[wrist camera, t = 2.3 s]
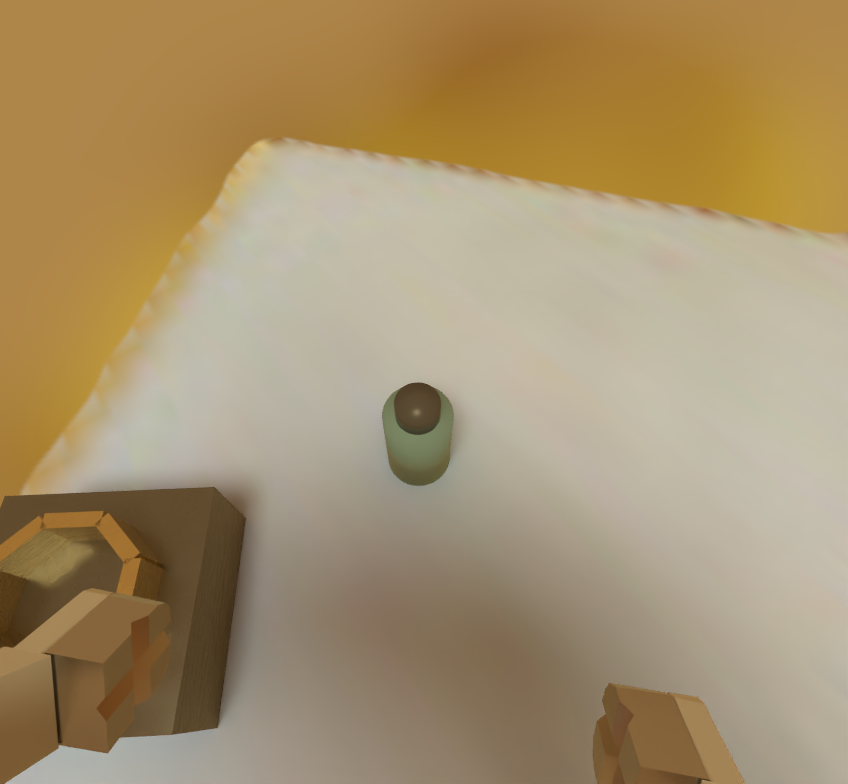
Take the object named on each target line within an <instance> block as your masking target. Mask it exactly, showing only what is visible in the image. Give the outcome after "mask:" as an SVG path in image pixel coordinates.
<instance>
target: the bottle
mask: <svg viewBox="0 0 848 784" xmlns="http://www.w3.org/2000/svg"><path fill="white" fill-rule="evenodd" d="M382 419H383V426H384V433H385V439H386V446H387V452H388V458H389V464H390V467H391V469H392V471H393V473H394V474H395V475H396V476H397V477H398V478H399V479H400V480H401V481H403V482H405V483H407V484H410V485H416V486H421V485H427V484H430V483H433V482H435V481H436V480H438V479H439V478H440V477H441V476H442V475H443V474H444V472H445V471H446V469H447V467H448V463H449V456H450V446H451V436H452V426H453V409H452V405H451V403H450V401H449V400H448V398H447V397H446V396H445V395H444V394H443V393H442V392H441V391H439V390H438V389H436V388H434V387H431V386H430V385H427V384H424V383H411V384H408V385H406V386H404V387H402V388H400V389H399V390H397V391H395V392H394V393H393V394H392V395H391V396H390V397H389V398H388V400H387V401H386V403H385V405H384V408H383V412H382Z"/></svg>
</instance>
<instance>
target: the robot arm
mask: <svg viewBox="0 0 848 784" xmlns="http://www.w3.org/2000/svg"><path fill="white" fill-rule="evenodd" d="M170 622H171V614H170V606H169V605H167V604H166V603H164V602H159V601H155V600H150V599H145V598H140V597H135V596H131V595H126V594H121V593H113V592H108V591H104V590H99V589H94V588H91V589H88V590H84V591H82V592H81V593H80V594H79V595H77V596H76V597H75V598H74V599H72V600H71V601H70V602H69V603H68V604H66V605H65V606H64V607H63V608H61V609H60V610H59V611H58V612H57V613H55V614H54V615H53V616H52V617H51V618H49V619H48V620H47V621H46V622H44V623H43V624H42V625H41V626H40V627H38V628H37V629H36V630H35V631H33V632H32V633H31V634H30V635H29V636H27V637H26V638H25V639H24V640H23V641H21V642H20V643H19V644H18V645H16V646H15V647H14V648H11V647H3V648H0V784H4V783H6V782H7V781H9V780H11V779H12V778H14V777H15V776H17V775H18V774H20V773H21V772H23V771H24V770H26V769H27V768H29V767H30V766H32V765H34V764H35V763H37V762H38V761H40V760H41V759H43V758H44V757H46V756H47V755H49V754H50V753H52V752H53V751H55V750H57V749H58V748H59V745H62V746H68V747H74V748H80V749H86V750H91V751H97V752H103V753H109V751H110V750H111V749H112V747H113V746H114V745H115V743H116V742H117V741H118V739H119V738H120V737H121V736H122V734H123V733H124V732H125V730H126V729H127V728H128V726H129V725H130V724H131V722H132V721H133V720H134V706H135V705H137V704H139V703H141V702H143V701H145V700H146V699H148V698H150V697H151V696H152V695H153V693H154V692H155V691H156V689H157V688H158V686H159V685H160V684H161V682H162V679H163V677H164V675H165V673H166V671H167V668H168V666H169V661H170V656H171V641H170V639H169V638H168V636H167V635H166V633H165V632H164V629H165V628H166V627H167V626H168V624H169V623H170ZM602 701H603V705H604V709H605V713H606V715H604V716H603V717H602V718H600V719H599V720H598V721H597V723H596V728H595V732H594V737H593V761H594V770H595V775H596V780H597V784H745V782H744V781H743V779H742V777H741V775H740V773H739V771H738V769H737V767H736V765H735V763H734V761H733V759H732V757H731V755H730V753H729V751H728V749H727V747H726V745H725V744H724V742H723V740H722V738H721V736H720V734H719V732H718V730H717V728H716V726H715V724H714V722H713V720H712V718H711V716H710V714H709V712H708V710H707V708H706V707H705V705H704V703H703V702H702V701H701V700H700V699H699V698H698V697H694V696H688V695H681V694H675V693H669V692H668V693H665V692H660V691H654V690H648V689H643V688H637V687H631V686H625V685H619V684H614V683H609V684H608V686H607V687H606V689H605V692H604V696H603V700H602Z"/></svg>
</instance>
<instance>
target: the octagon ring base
mask: <svg viewBox="0 0 848 784" xmlns="http://www.w3.org/2000/svg"><path fill="white" fill-rule="evenodd" d="M245 519H246V518H245V517H244V516H243V515H242V514H241V513H240V512H239V511H238V510H237V509H236V508H235V507H234V506H233V505H232V504H231V503H230V502H229V501H228V500H227V499H226V498H225V497H224V496H223V495H222V494H221V493H220V492H219V491H218V490H217V489H216V488H215V487H208V488H185V489H161V490H138V491H115V492H92V493H68V494H45V495H22V496H5V497H4V500H3V503H2V505H1V508H0V648H3V647H11V648H14V647H15V646H16V645H18V644H19V643H20V642H21V641H23V640H24V639H25V638H26V637H27V636H29V635H30V634H31V633H32V632H33V631H35V630H36V629H37V628H38V627H40V626H41V625H42V624H43V623H44V622H46V621H47V620H48V619H49V618H51V617H52V616H53V615H54V614H55V613H57V612H58V611H59V610H60V609H61V608H63V607H64V606H65V605H66V604H68V603H69V602H70V601H71V600H72V599H74V598H75V597H76V596H77V595H79V594H80V593H81V592H82V591H84V590H88V589H91V588H94V589H99V590H104V591H108V592H113V593H121V594H126V595H131V596H135V597H140V598H145V599H150V600H155V601H159V602H164V603H166V604H167V605H169V606H170V614H171V622H170V623H169V624H168V626H167V627H166V628H165V629H164V632H165V633H166V635H167V636H168V638H169V639H170V641H171V656H170V661H169V666H168V668H167V671H166V673H165V675H164V677H163V679H162V682H161V684H160V685H159V686H158V688H157V689H156V691H155V692H154V693H153V695H152V696H151V697H150V698H148V699H146V700H145V701H143V702H141V703H139V704H137V705H135V706H134V720H133V721H132V722H131V724H130V725H129V726H128V728H127V729H126V730H125V732H124V733H123V734H122V736H121V737H138V736H157V735H173V734H180V733H187V732H193V731H200V730H207V729H214V728H217V726H218V718H219V711H220V704H221V696H222V689H223V681H224V674H225V667H226V659H227V652H228V644H229V637H230V630H231V622H232V615H233V607H234V600H235V593H236V585H237V578H238V570H239V563H240V556H241V548H242V541H243V533H244V526H245Z"/></svg>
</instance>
